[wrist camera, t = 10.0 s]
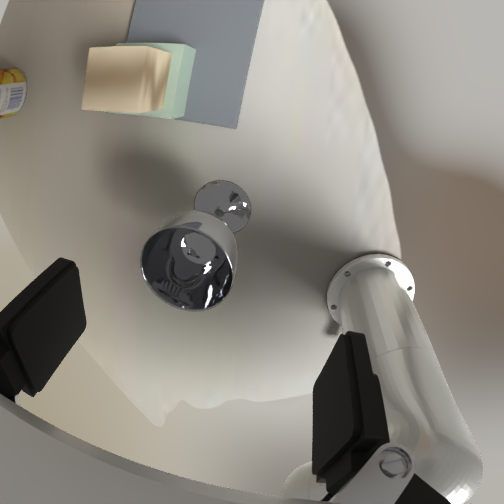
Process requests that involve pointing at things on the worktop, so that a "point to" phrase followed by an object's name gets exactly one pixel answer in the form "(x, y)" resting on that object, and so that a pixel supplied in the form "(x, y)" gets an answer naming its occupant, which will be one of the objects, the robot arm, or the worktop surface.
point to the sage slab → (172, 79)
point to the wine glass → (197, 249)
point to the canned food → (12, 91)
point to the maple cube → (126, 79)
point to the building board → (205, 49)
